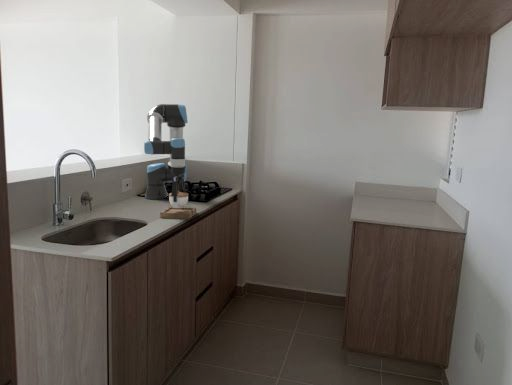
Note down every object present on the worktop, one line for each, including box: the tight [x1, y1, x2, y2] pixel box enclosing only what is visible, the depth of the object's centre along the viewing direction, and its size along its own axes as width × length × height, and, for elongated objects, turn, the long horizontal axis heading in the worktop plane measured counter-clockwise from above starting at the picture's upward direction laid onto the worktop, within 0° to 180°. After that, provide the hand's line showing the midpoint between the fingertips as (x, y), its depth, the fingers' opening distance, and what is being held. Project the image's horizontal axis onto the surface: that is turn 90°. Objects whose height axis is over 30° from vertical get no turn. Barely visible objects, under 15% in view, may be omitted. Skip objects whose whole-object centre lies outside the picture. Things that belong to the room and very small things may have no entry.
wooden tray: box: [159, 206, 197, 220], centre depth 238 cm, size 16×16×3 cm
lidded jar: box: [168, 190, 189, 208], centre depth 237 cm, size 11×11×9 cm
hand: (178, 205), depth 237 cm, fingers closed on lidded jar, 11 cm apart
